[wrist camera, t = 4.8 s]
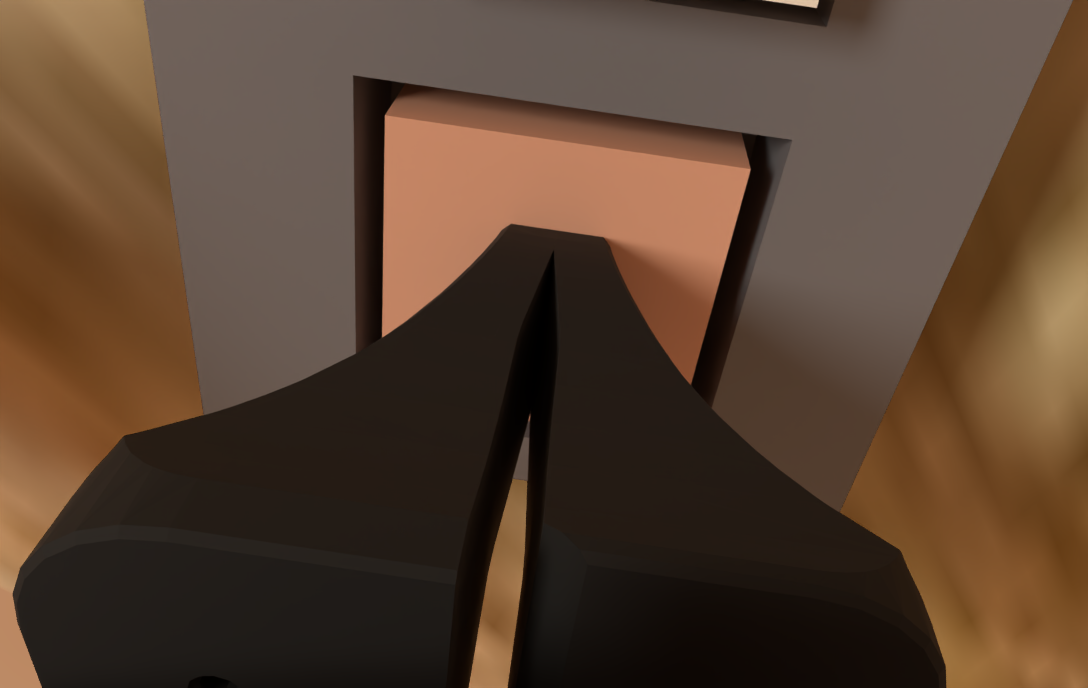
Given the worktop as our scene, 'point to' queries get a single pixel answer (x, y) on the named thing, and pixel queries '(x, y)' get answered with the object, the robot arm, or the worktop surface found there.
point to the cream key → (799, 2)
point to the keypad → (620, 88)
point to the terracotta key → (559, 199)
